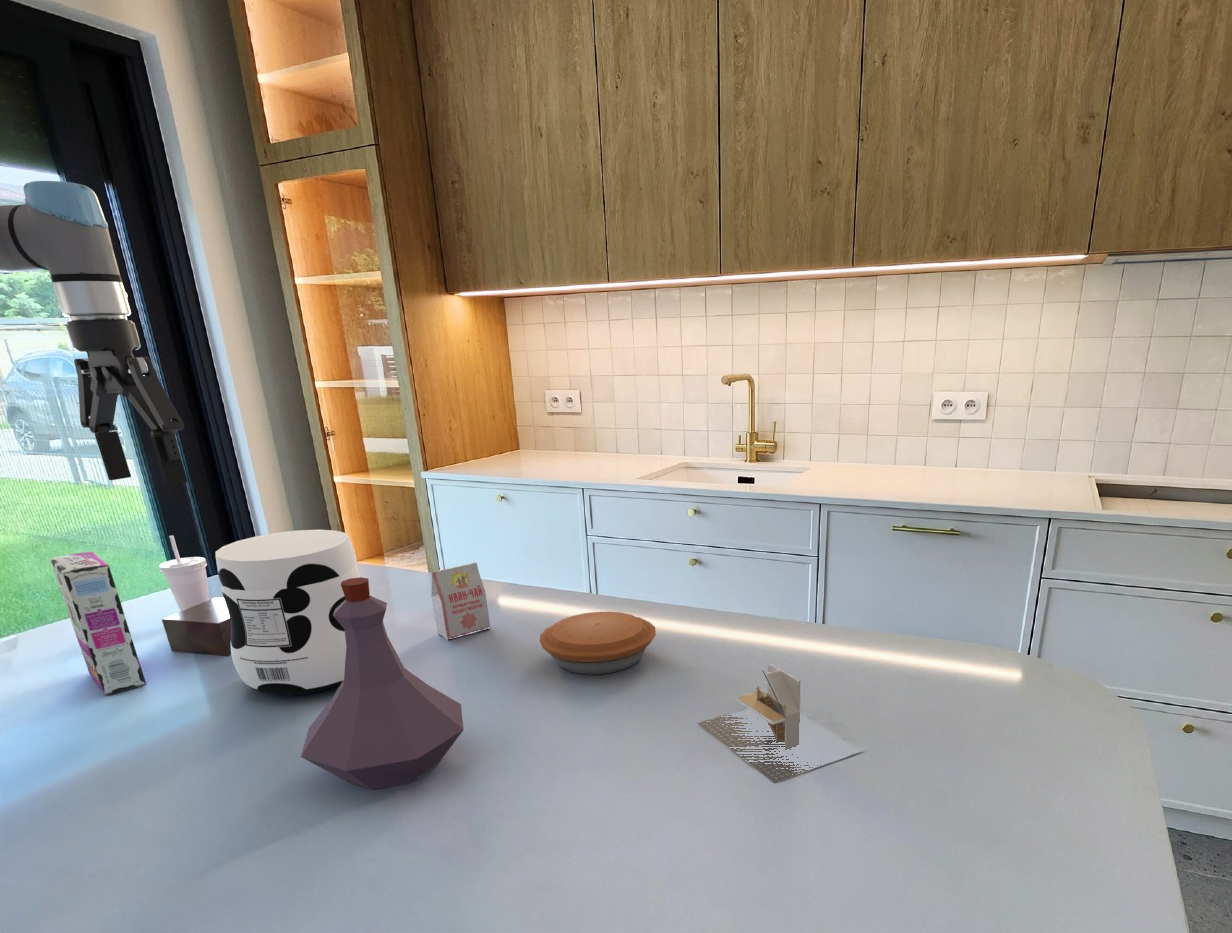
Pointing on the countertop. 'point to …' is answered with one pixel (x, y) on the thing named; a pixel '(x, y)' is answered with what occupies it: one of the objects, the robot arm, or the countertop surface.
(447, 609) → the tea bag
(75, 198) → the robot arm
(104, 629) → the candy bar box
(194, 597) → the smoothie
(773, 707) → the architectural model
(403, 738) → the flask
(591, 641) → the pie
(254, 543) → the milk container
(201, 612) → the walnut block
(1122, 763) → the countertop surface
